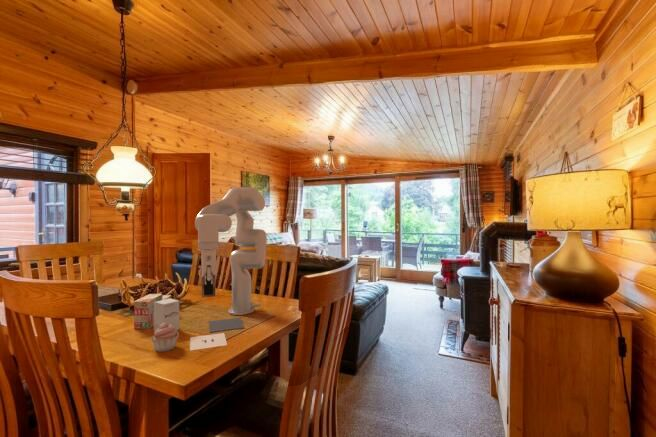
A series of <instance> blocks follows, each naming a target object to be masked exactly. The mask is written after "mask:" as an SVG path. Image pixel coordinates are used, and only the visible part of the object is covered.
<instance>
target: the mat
mask: <svg viewBox="0 0 656 437" xmlns="http://www.w3.org/2000/svg"><path fill="white" fill-rule="evenodd" d="M208 327H209V333H210V334H211V333H217V332H225V331H227V332H228V331H232V330H234V331H235V330H241V329H242V330H243V329H245V326H244V323H243V320H242V319H241V317H235V318H234V317H233V318H226V319H217V320H216V319H215V320H209V321H208Z"/></svg>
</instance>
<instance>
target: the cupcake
mask: <svg viewBox="0 0 656 437" xmlns="http://www.w3.org/2000/svg"><path fill="white" fill-rule="evenodd" d="M179 333H180V332H178V330H176V329H175V328H174V326H173V325H171V324H168V323H167V322H165V323H162V324H161V325H160V326H159V328H158V329H157V330H156V331H153V335H152V336H151V338H150V340H151V342H152V344H153V345H154V350H155V351H156V352H159V353H163V352H168V351H169V352H170V351H172V350H173V349H175V347H176V343H177V339H178V337H179V336H180V335H179Z"/></svg>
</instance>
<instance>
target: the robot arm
mask: <svg viewBox="0 0 656 437" xmlns="http://www.w3.org/2000/svg"><path fill="white" fill-rule="evenodd" d="M265 205H266V201H265V197H264V195H263V194H262V193H261V192H260V191H259V190H258V189H256V188H255V187H252V186H251V187H250V186H249V187H247V186H246V187H245V186H244V187H243V186H240V187H239V186H236V187H232V188H230V189H229V190H228V191H227V192H226V194H225V195H224V196H223V198H222V199H220V200H218V201H216V202H213V203H210V204H208V205H206V206H205V207H203V208H202V209H201V210H200V211H199V213H198V214H197V215H196V217H195V218H194V219H195V221H194V227H195V229H196V231H197V251H199V252H200V254H201V256H200V258H201V260H200V261H201V263H200V264H201V272H202V274H203V276H204V277H205V284H204V295H212V294H213V280H212V277H213V276H212V274H213V275H214V276H215V277H216V276H217V251H219V248H220V247H219V245H220V244H219V242H220V241H219V238H220V237H219V236H220V233H225V232H228V231H229V230H230V229H232V228H231V227H232V223H233V222H232V218H231V216H233V215H235V217H236V229H235V245H236V246H237V247H239V248H255V249H235V250H233V251H232V252H231V253H230V255H229V262H230V268H231V307H230V308H229V309H228V313H229V314H230V315H234V316H243V315H249V314H252V313H254V311H255V308H259V307H261V302H252V276H251V273H250V272H249V270H248V269H251V270H252V269H254V270H255V269H257V270H258V269H263V268H264V266H265V264H266V257H267V256H266V255H267V242H268V241H267V238H268V237H267V233H266V231H265V230H264V229H261V228H256V229H255V228H254V224H255V222H254V221H255V220H254V218H253V216H252V215H251V214H250V213H249V212H260V211H263V210H264V208H265V207H266V206H265ZM206 275H207V276H206ZM206 278H207V279H206Z"/></svg>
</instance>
